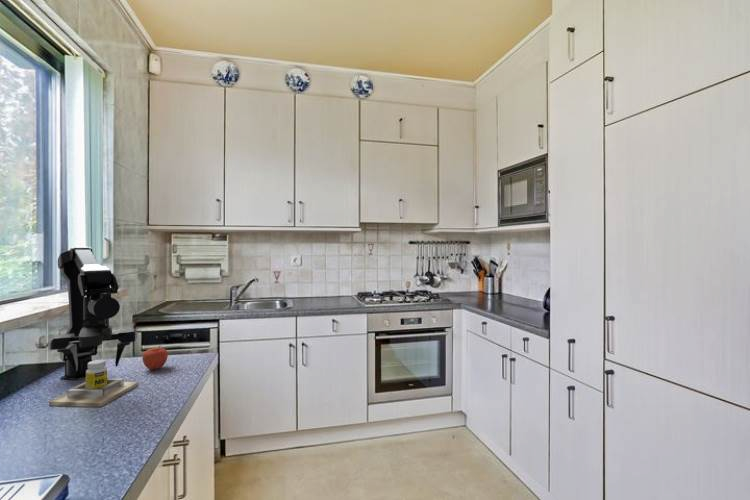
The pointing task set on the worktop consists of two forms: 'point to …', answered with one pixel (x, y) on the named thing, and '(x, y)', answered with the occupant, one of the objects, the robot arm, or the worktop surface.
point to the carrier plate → (94, 394)
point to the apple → (155, 358)
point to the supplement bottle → (96, 374)
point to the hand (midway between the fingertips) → (96, 368)
